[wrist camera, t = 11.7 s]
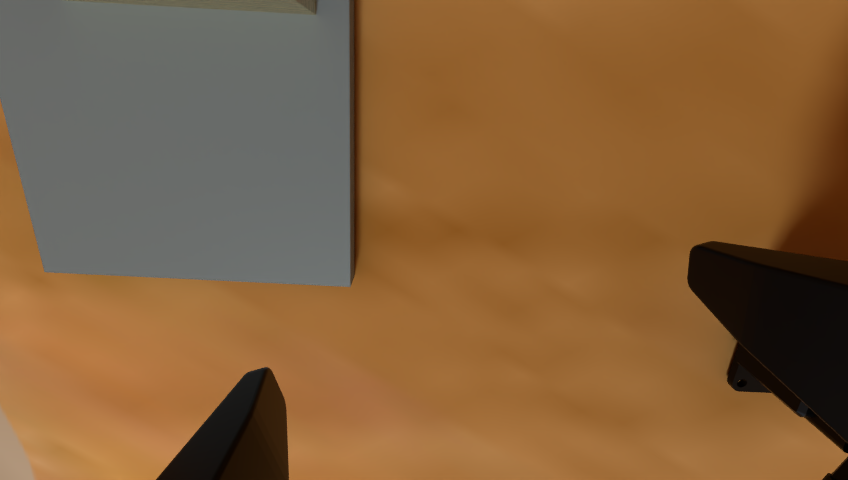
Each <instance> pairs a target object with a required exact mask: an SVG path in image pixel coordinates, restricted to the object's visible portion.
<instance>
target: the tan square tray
mask: <svg viewBox="0 0 848 480" xmlns="http://www.w3.org/2000/svg"><path fill="white" fill-rule="evenodd" d="M65 1H82V2H99V3H117V4H134V5H151V6H168V7H185V8H203V9H220V10H237V11H254V12H271V13H289V14H306V15H316V0H65Z"/></svg>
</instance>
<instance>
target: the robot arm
mask: <svg viewBox="0 0 848 480" xmlns="http://www.w3.org/2000/svg"><path fill="white" fill-rule="evenodd" d="M687 280H688V284H689V287H690V288H691V290H692V291H693V292H694V293H695V295H696V296H697V297H698V298H699V299H700V300H701V301H702V302H703V303H704V304H705V306H706V307H707V308H708V309H709V310H710V311H711V312H712V313H713V314H714V316H715V317H716V318H717V319H718V320H719V321H720V322H721V323H722V324H723V326H724V327H725V328H726V329H727V330H728V331H729V332H730V333H731V334H732V336H733V337H734V338H735V339H736V340H737V341H738V342H739V345H738V348H737V351H736V354H735V357H734V360H733V363H732V366H731V369H730V372H729V375H728V378H727V382H728V384H729V385H730V386H731V387H732V388H733V389H734V390H736V391H743V392H766V393H773V394H774V395H775V396H776V397H777V398H778V399H779V400H781V401H782V402H783V403H784V404H785V405H786V406H787V407H789V408H790V409H791V410H792V411H793V412H794V413H795V414H797V415H798V416H800V417H804V418H806V419H807V420H808V421H809V422H810V423H811V424H812V425H814V426H815V427H816V428H817V429H818V430H819V431H821V432H822V433H823V434H824V435H825V436H826V437H828V438H829V439H830V440H831V441H832V442H833V443H835V444H836V445H837V446H838V447H839V448H840V449H841V450H843V451H844V452H845V453H848V261H841V260H835V259H828V258H822V257H815V256H808V255H802V254H795V253H789V252H782V251H775V250H769V249H762V248H756V247H749V246H742V245H736V244H729V243H723V242H716V241H710V242H706V243H702V244H699V245H696V246H694V247H693V248H692V249H691V251H690V256H689V266H688V276H687ZM739 380H740V381H739ZM738 381H739V382H738ZM156 480H289V470H288V442H287V415H286V404H285V400H284V397H283V395H282V392H281V390H280V388H279V386H278V383H277V381H276V379H275V377H274V374H273V372H272V371H271V369H270V368H267V367H264V368H261V369H257V370H254V371H250V372H248V373H246V374H245V375H244V376H243V377H242V379H241V380H240V381H239V382H238V383H237V385H236V386H235V387H234V388H233V389H232V390H231V392H230V393H229V394H228V395H227V396H226V398H225V399H224V400H223V401H222V402H221V403H220V405H219V406H218V407H217V408H216V409H215V411H214V412H213V413H212V414H211V415H210V416H209V418H208V419H207V420H206V421H205V422H204V424H203V425H202V426H201V427H200V428H199V429H198V431H197V432H196V433H195V434H194V435H193V437H192V438H191V439H190V440H189V441H188V442H187V444H186V445H185V446H184V447H183V448H182V450H181V451H180V452H179V453H178V454H177V455H176V457H175V458H174V459H173V460H172V461H171V463H170V464H169V465H168V466H167V467H166V468H165V470H164V471H163V472H162V473H161V474H160V476H159V477H158V478H157V479H156ZM822 480H848V457H847V458H846V459H845V460H844V461H843V462H842V463H841V465H840V466H839V467H838V468H837V469H836V470H835V471H834V472H833V473H832V474H830V473H828V474H827V475H826V476H825V477H824V478H823V479H822Z"/></svg>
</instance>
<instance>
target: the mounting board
mask: <svg viewBox="0 0 848 480" xmlns="http://www.w3.org/2000/svg"><path fill="white" fill-rule="evenodd" d="M0 99H1V103H2V107H3V111H4V115H5V119H6V123H7V127H8V131H9V134H10V138H11V142H12V146H13V150H14V154H15V158H16V162H17V166H18V170H19V174H20V178H21V181H22V185H23V189H24V193H25V197H26V201H27V205H28V209H29V213H30V217H31V221H32V224H33V228H34V232H35V236H36V240H37V244H38V248H39V252H40V256H41V260H42V264H43V268H44V271H45V272H54V273H75V274H95V275H116V276H137V277H158V278H179V279H199V280H220V281H241V282H262V283H283V284H303V285H324V286H345V287H350V286H351V284H352V281H353V278H354V0H316V15H306V14H289V13H271V12H254V11H237V10H220V9H203V8H185V7H168V6H151V5H134V4H117V3H99V2H82V1H65V0H0Z"/></svg>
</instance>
